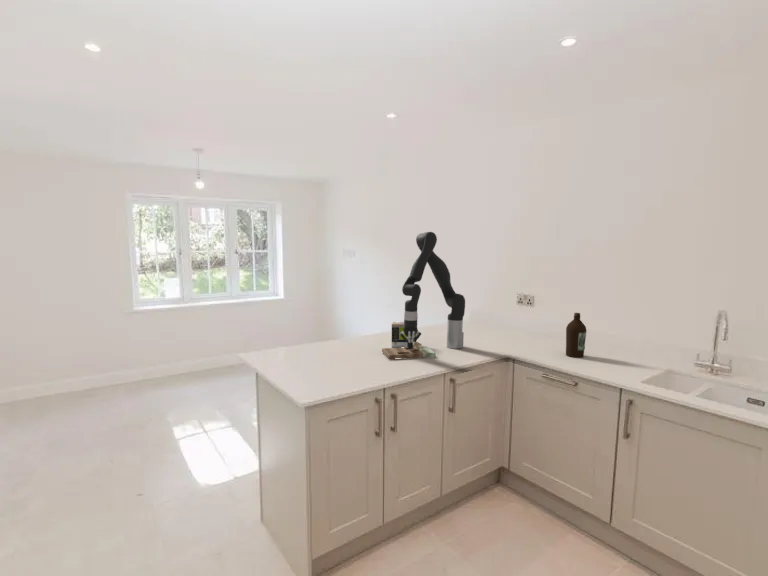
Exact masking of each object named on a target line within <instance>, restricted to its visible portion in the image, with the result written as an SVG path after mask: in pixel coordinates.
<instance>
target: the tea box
mask: <svg viewBox="0 0 768 576" xmlns="http://www.w3.org/2000/svg"><path fill="white" fill-rule="evenodd" d="M403 329H404V321H392V323H391V348H398V347H407V342H406V341H404V339H403V338H402V337H401V335H400V334H399V333H401V332H402V331H403ZM416 335H417V334H415V336H416ZM415 336H414V337H415ZM404 337H405V338H406V339H407V336H406V335H405V333H404Z"/></svg>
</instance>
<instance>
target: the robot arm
mask: <svg viewBox="0 0 768 576" xmlns="http://www.w3.org/2000/svg"><path fill="white" fill-rule="evenodd" d="M415 238H416V239H415V241H416V242H415V243H416V245H417V248H418V249H419V250H420V254H419V255H418V257H417V259H416V260H415V261H414V263H413V265H412V267H411V269H410V273H409V275H408V277H407V278H406V280H405V281H404V284H403V285H402V288H401V291H402V294H403V296H406V297H407V296H409V297H410V299H407V300H405V302H404V313H403V322H404V329H403V331H402V332H401V333H399V334H400V335H401V337H402V338H403V339H404V341H406V342H407V347H408V349H412V348H413V342H418V340H419V338H420V337H421V335H422V332H420V331H419V329H418V319H419V317H418V304H419V299H420V296H421V293H422V289H421V286H420V284H417V283H419V282H421V281H422V278H423V275H424V272H425V268H426V266H427V264H428V266H429V268H430V270H431V272H432V274H433V277H434V279H435V280H436V282H437V284H438V286H439V288H440V291H441V293H442V296H443V298H444V300H445V304H446V305H447V306H448V307H449V308H451V311H450V313H448V315H447V327H446V329H447V331H446V348H449V349H456V350H457V349H461V348H464V336H465V335H464V333H465V332H464V331H463V323H464V317H465V311H466V299H465V296H464V295H462V294H461V293H456V291H455V290H454V288H453V286H452V283H451V274H450V269H449V268H448V265H447V264H446V262H445V261H444V260H443V259H441V258H440V256H438V255H437V254H436V253H435V251H434V249H435V247H436V245H437V241H438V238H437V234H436V233H435V232H433V231H427V232H423V233H419V234H417V236H416V237H415ZM404 333H405V335H406V336H407V339H406V338H405V337H404ZM415 334H416V336H415ZM414 336H415V337H414Z"/></svg>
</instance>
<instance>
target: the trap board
mask: <svg viewBox="0 0 768 576" xmlns="http://www.w3.org/2000/svg"><path fill="white" fill-rule="evenodd" d="M382 352H383V353H384V354H385V355H386V357H387V358H388V359H393V360H396V359H395V358H412V359H421V358H420V357H431V358H436V352H434V350H432V349H431V348H429V347H428V346H421V347H420V350H416V349H414V348H412V349H408V347H404V348H398V347H387V348H382V349H381V353H382ZM383 353H382V354H383ZM384 354H383V355H384ZM385 355H384V356H385ZM386 357H385V358H386ZM387 358H386V359H387ZM388 359H387V360H388Z"/></svg>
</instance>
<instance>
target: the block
mask: <svg viewBox="0 0 768 576" xmlns="http://www.w3.org/2000/svg"><path fill="white" fill-rule="evenodd" d="M420 347H422V343H420V342H418V341H416V342H413V348H414V349H416V350H420Z"/></svg>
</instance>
